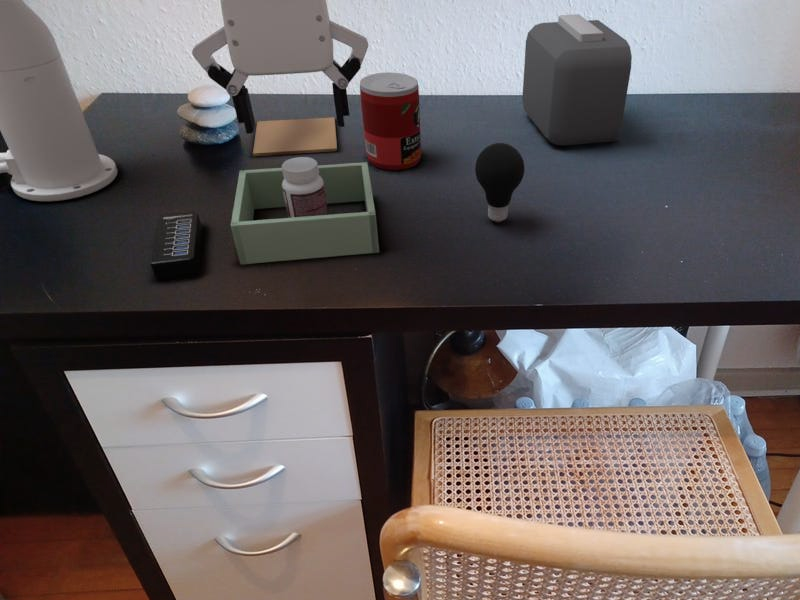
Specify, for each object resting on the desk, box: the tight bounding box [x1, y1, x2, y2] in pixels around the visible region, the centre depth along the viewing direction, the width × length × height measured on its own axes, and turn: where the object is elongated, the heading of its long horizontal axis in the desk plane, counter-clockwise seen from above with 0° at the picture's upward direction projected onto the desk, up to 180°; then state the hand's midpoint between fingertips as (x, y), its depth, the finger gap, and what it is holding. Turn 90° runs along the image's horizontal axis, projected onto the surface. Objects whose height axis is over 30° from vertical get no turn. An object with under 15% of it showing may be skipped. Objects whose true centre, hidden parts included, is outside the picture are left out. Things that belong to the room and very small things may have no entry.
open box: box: [230, 161, 380, 265], centre depth 79 cm, size 16×14×5 cm
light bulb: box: [474, 142, 525, 224], centre depth 79 cm, size 6×6×10 cm
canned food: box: [359, 72, 422, 171], centre depth 92 cm, size 8×8×11 cm
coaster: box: [252, 116, 338, 157], centre depth 101 cm, size 12×12×1 cm
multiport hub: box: [149, 210, 203, 282], centre depth 75 cm, size 4×11×2 cm, turn 15°
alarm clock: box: [521, 13, 633, 146], centre depth 100 cm, size 16×11×16 cm
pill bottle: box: [281, 156, 330, 218], centre depth 78 cm, size 5×5×8 cm
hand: (296, 125), depth 72 cm, fingers open, 9 cm apart
